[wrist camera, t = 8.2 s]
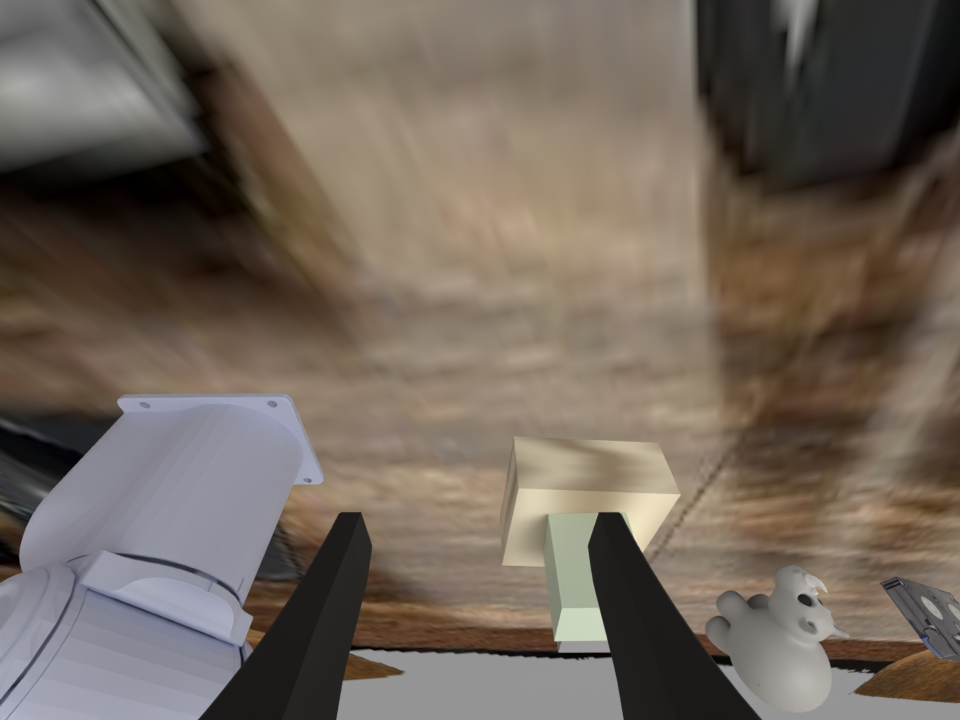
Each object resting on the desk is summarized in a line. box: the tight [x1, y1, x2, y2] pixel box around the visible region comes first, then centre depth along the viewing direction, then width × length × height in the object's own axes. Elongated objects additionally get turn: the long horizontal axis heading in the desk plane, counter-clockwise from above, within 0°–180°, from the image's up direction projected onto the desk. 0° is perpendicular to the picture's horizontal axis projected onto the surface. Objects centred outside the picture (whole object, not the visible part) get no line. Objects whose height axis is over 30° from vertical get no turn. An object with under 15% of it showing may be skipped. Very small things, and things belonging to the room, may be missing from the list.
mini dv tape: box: [880, 576, 960, 663], centre depth 36 cm, size 8×2×6 cm, turn 65°
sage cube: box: [543, 512, 634, 641], centre depth 23 cm, size 4×4×5 cm
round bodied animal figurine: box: [705, 564, 850, 712], centre depth 35 cm, size 7×12×8 cm, turn 164°
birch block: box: [500, 436, 681, 567], centre depth 27 cm, size 9×9×4 cm
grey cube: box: [557, 641, 610, 652], centre depth 35 cm, size 4×4×5 cm
